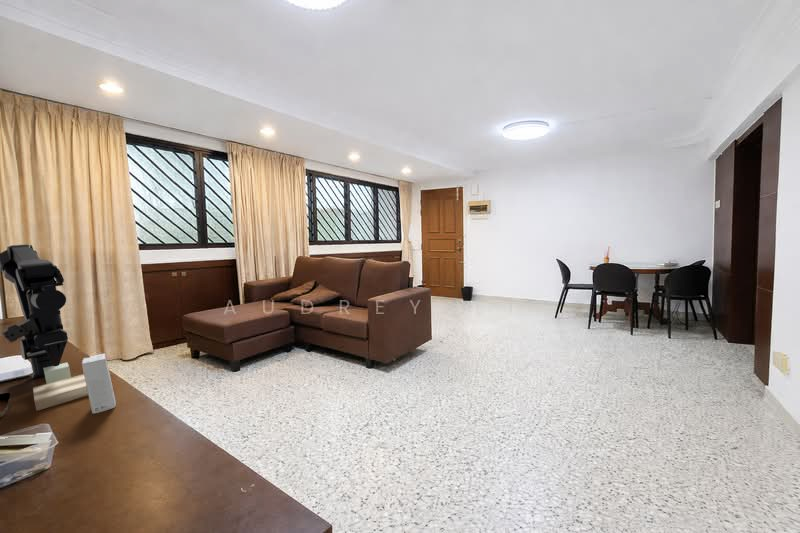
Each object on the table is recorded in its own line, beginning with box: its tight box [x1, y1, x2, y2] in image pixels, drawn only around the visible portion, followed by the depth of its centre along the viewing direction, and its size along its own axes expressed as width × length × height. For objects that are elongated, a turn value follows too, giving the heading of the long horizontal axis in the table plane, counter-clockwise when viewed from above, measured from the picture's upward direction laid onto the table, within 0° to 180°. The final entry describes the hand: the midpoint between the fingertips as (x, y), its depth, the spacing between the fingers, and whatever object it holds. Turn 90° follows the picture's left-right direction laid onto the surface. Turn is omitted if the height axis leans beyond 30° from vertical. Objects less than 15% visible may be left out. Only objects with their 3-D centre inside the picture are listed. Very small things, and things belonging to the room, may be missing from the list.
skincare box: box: [81, 352, 117, 414], centre depth 84 cm, size 6×4×12 cm
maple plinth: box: [32, 373, 88, 411], centre depth 93 cm, size 12×11×2 cm
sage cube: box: [43, 361, 72, 384], centre depth 101 cm, size 5×5×5 cm
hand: (55, 362), depth 100 cm, fingers open, 9 cm apart
